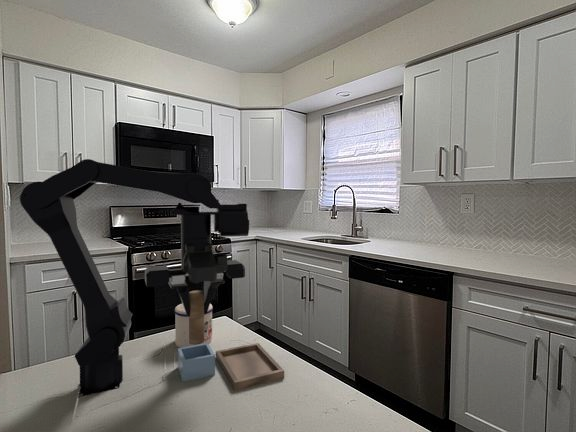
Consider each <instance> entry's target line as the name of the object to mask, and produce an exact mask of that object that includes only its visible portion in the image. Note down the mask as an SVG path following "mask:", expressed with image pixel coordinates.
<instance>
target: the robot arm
mask: <svg viewBox="0 0 576 432" xmlns="http://www.w3.org/2000/svg"><path fill="white" fill-rule="evenodd" d="M99 183H101V184H105V185H106V184H107V185H111V186H118V187H126V188H132V189H138V190H144V191H150V192H158V193H161V194H165V195H167V196H170V197H173V198H176V199H179V200H183V201H186V202H189V203H192V204H202V205H203V206H205V207H207V208H208V209H216V211H200V206H198V205H197V206H196V205H194V206H189V205H188V206H187V205H186V206H184V205H183V204H182V203H181V202H178V203H177V204H176V206H175V207H174V209H172V210H171V211H170V214H171V216H178V215H179V216H180V240H181V241H180V243H181V244H180V248H181V249H180V252H181V253H180V255H181V257H180V258H181V259H180V261H181V265H180V268H173V269H172V268H171V269H169V267H168V266H167V265H156V266H155V265H154V266H147V267H146V268H145V269H144V282H145V287H146V288H155V287H165V286H166V285H167V284H168V285H169V287H170V289H172V290H176V291H177V294H178V295H179V298H180V301H181V304H183V306H184V309H185V312H186V315H187V317H189V316H190V308H189V292H188V290H189V288H188V286H189V285H188V283H186V279H189V282H190V283H192V284H199V283H202V282H203V291H204V314H207V311H208V308H209V305H210V304H211V303H212V300H213V297H214V294H215V293H216V290H217V289H218V287H219V286H220V285H222V284H223V285H224V283H225V281H226V280H225V279H224V275H226V276H227V277H228V278H230V279H231V280H233V279H243V278H245V277H246V267H245V265H244V264H243V263H242V262H240V261H238V260H236V259H233V260H232V259H231V260H228V255H227V253H226V252H220V253H216V254H214V252H213V247H212V246H213V245H212V222H211V221H212V218H211V217H212V216H213V232H214V233H218V235H219V238H223V237H224V238H226V237H227V238H228V237H229V238H230V237H231V238H232V237H233V238H234V237H248V236H249V232H250V219H249V214H248V213H249V212H248V209H247V207H248V206H247V205H248V204H247V203H236V204H224V203H223V204H221V203H220V202H219V201H220V200H219V199H217V197H216V196H215V195H214V194H213V192H212V185H211V184H212V183H211V182H210V180H209V178H208V177H207V176H205V175H204V174H201V173H198V172H174V173H173V172H171V173H170V172H169V173H168V172H167V173H166V172H165V173H163V172H156V171H150V170H145V169H141V168H140V169H138V168H133V167H128V166H123V165H116V164H111V163H106V162H99V161H96V160H94V159H88V158H86V159H82V160H80V161H79V162H78V163H76V164H75V165H73V166H71V167H69V168H67V169H64V170H63V171H61V172H59V173H56V174H54V175H52V176H50V177H48V178H47V179H45V180H43V181H33V182H31V183H29V184H27V185H26V186H25V187H23V189H22V191H21V193H20V195H19V203H20V205H21V207H22V208H23V210H24V211H25V212H26V213H27V215H28V216H29V218H30V219H31V221H33V222H34V224H35V225H37V226H38V228H40V229H41V230H42V231H43V232H44V233H46V235H48V237H49V238H50V241H51V242H52V243H51V244H52V245H53V246H54V248H55V251H56V252H57V254H58V257H59V258H60V261H61V263H62V265H63V267H64V269H65V271H66V273H67V275H68V277H69V279H70V281H71V284H72V285H73V287H74V290H75V291H76V293H77V295H78V297H79V299H80V301H81V303H82V306H83V308H84V315H85V316H84V317H85V318H84V319H85V328H86V331H87V336H88V337H87V339H86V340H84V342H83V344H82V345H81V346H80V347H79V349H78V350H77V352H76V353H75V354H74V358H75V361H76V363H77V365H78V366H79V390H78V395H77V397H78V398H77V399H80V397H84V396H89V395H93V394H99V393H103V392H107V391H113V390H117V389H120V386H121V382H123V380H124V379H123V378H124V377H123V374H124V373H123V372H124V369H123V368H124V367H123V366H124V365H123V359H124V358H123V354H120V347H121V346H122V345H123V343H124V341H125V339H126V337H127V335H128V332H129V331H130V328H131V326H132V317H133V315H134V314H133V313H132V312H131V311H130V310H129V308H128V306H127V301H126V299H125V297H121V298H119V299H118V300H117V299H116V298H114V296H112V295H111V293H110V292H109V290H108V288H107V286H106V284H105V282H104V280H103V277H102V275H101V274H100V272H99V269H98V267H97V265H96V263H95V260H94V258H93V257H92V255H91V252H90V251H89V248H88V246H87V244H86V243H85V240H84V237H83V236H82V234H81V232H80V230H79V227H78V221H77V218H78V217H77V208H76V206H75V205H76V204H75V201H74V200H76V199H77V198H79V197H81V196H82V195H83V194H84V193H86V192H87V191H88V190H89V189H91V187H93V186H94V185H96V184H99Z"/></svg>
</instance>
